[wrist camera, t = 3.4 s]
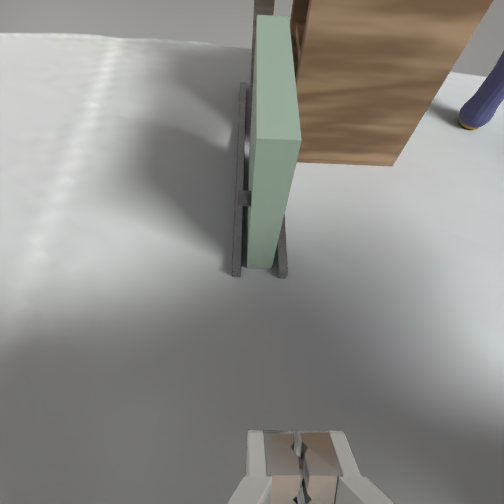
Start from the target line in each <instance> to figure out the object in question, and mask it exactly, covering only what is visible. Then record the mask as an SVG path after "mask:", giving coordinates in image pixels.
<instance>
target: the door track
mask: <svg viewBox="0 0 504 504" xmlns="http://www.w3.org/2000/svg"><path fill="white" fill-rule="evenodd" d="M245 108H246V83H241V86H240V109H239V131H238V154H237V176H236V199H235V221H234V244H233V266H232V276H239V277H240V276H241V243H242V210H243V206H238V190H243V176H244V142H245ZM277 270H278V278H286V276H287V273H288V270H287V252H286V233H285V215H284V217H283V222H282V226H281V230H280V234H279V239H278V243H277Z"/></svg>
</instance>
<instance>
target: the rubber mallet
mask: <svg viewBox="0 0 504 504" xmlns="http://www.w3.org/2000/svg"><path fill="white" fill-rule="evenodd" d="M503 99H504V51H503V53H502V55H501V57H500V58H499V60H498V62H497V64H496V66H495V67H494V69H493V70H492V71H491V73H490V74H489V76H488V77H487V78H486V80H485V81H484V82H483V84H482V85H481V87H480V88H479V89H478V91H477V92H476V93H475V94H474V96H473V97H472V98H471V99H470V100H468V101H467V102H466V103H465V104H464V105H463V107H462V108H461V110H460V115H459V117H460V118H459V123H460V124H461V125H462V126H463V127H465V128H467V129H471V130H474V129H478V128H479V127H481V126H483V125H485V124H486V123H487V122H489V121H490V120H491V118H492V117H493V115H494V113H495V111H496V109H497V108H498V106H499V105H500V103H501V102H502V101H503Z"/></svg>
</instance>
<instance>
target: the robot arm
mask: <svg viewBox="0 0 504 504" xmlns="http://www.w3.org/2000/svg"><path fill="white" fill-rule="evenodd" d="M297 444H298V449H297V450H296V453H295V452H294V436H293V433H292V431H276V430H263V431H262V430H248V433H247V455H246V476H244V477H243V479H242V480H241V482H240V483H239V485H238V487H237V488H236V490H235V491H234V493H233V495H232V496H231V498H230V499H229V501H228V502H227V504H297V497H296V496H297V495H298V494H299V488H301V494H300V501H301V504H394V503H393V502H392V501H391V500H390V499H389V498H388V497H387V496H386V495H385V494H384V493H383V492H382V491H381V490H379V489H378V488H377V487H376V486H375V485H374V484H373V483H372V482H371V481H370V480H369V479H368V478H367V477H361V475H360V472H359V469H358V467H357V464H356V462H355V459H354V456H353V454H352V451H351V449H350V446H349V444H348V441H347V438H346V436H345V433H344V432H343V431H298V434H297Z"/></svg>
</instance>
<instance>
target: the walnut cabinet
mask: <svg viewBox="0 0 504 504" xmlns="http://www.w3.org/2000/svg"><path fill="white" fill-rule="evenodd" d="M492 2H493V0H293V5H292V13H291V21H290V33H291V43H292V53H293V62H294V72H295V82H296V91H297V101H298V111H299V120H300V130H301V140H302V141H301V145H300V149H299V154H298V158H297V162H308V163H331V164H354V165H377V166H393V164H394V163H395V161H396V160H397V158H398V156H399V155H400V153H401V151H402V150H403V148H404V146H405V145H406V143H407V141H408V140H409V138H410V136H411V135H412V133H413V132H414V130H415V128H416V127H417V125H418V123H419V122H420V120H421V118H422V117H423V115H424V113H425V112H426V110H427V109H428V107H429V105H430V104H431V102H432V100H433V99H434V97H435V95H436V94H437V92H438V90H439V89H440V87H441V85H442V84H443V82H444V81H445V79H446V77H447V76H448V74H449V72H450V71H451V69H452V67H453V66H454V64H455V62H456V61H457V59H458V58H459V56H460V54H461V53H462V51H463V49H464V48H465V46H466V44H467V43H468V41H469V39H470V38H471V36H472V34H473V33H474V31H475V30H476V28H477V26H478V25H479V23H480V21H481V20H482V18H483V16H484V15H485V13H486V11H487V10H488V8H489V6H490V5H491V3H492ZM273 11H274V0H254V20H253V41H252V62H251V84H250V86H253V76H254V57H255V39H256V20H257V15H270V16H273Z"/></svg>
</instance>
